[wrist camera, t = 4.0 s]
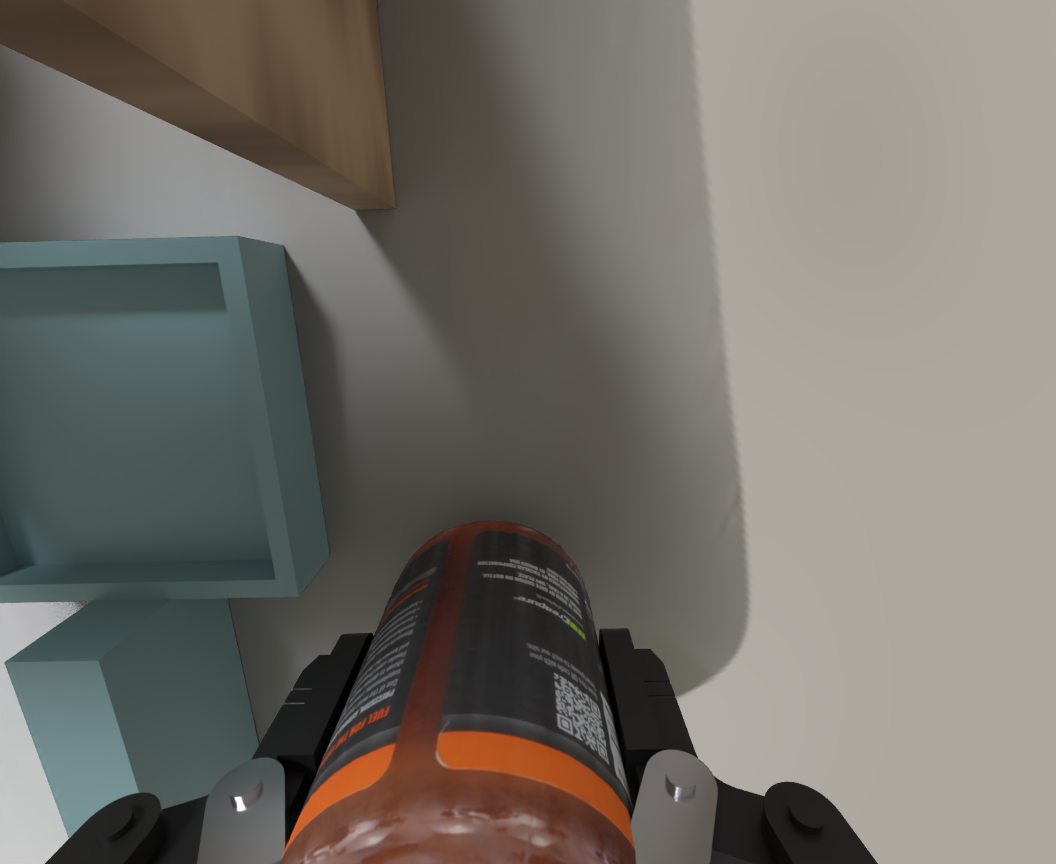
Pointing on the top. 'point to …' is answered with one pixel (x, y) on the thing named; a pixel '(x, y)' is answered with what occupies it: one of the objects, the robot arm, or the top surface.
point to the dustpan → (148, 500)
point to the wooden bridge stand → (235, 77)
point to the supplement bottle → (475, 720)
